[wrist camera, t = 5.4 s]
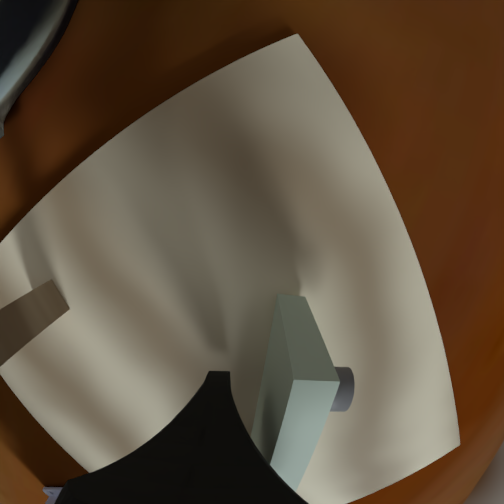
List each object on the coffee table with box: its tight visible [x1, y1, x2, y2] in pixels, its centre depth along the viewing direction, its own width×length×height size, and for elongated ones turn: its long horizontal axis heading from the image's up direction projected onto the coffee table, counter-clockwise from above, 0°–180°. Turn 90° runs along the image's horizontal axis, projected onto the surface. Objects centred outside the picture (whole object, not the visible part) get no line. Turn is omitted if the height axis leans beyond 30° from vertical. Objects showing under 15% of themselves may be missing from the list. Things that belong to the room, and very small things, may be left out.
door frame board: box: [0, 34, 460, 504], centre depth 10 cm, size 22×24×6 cm
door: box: [251, 294, 355, 492], centre depth 10 cm, size 2×16×5 cm, turn 173°
